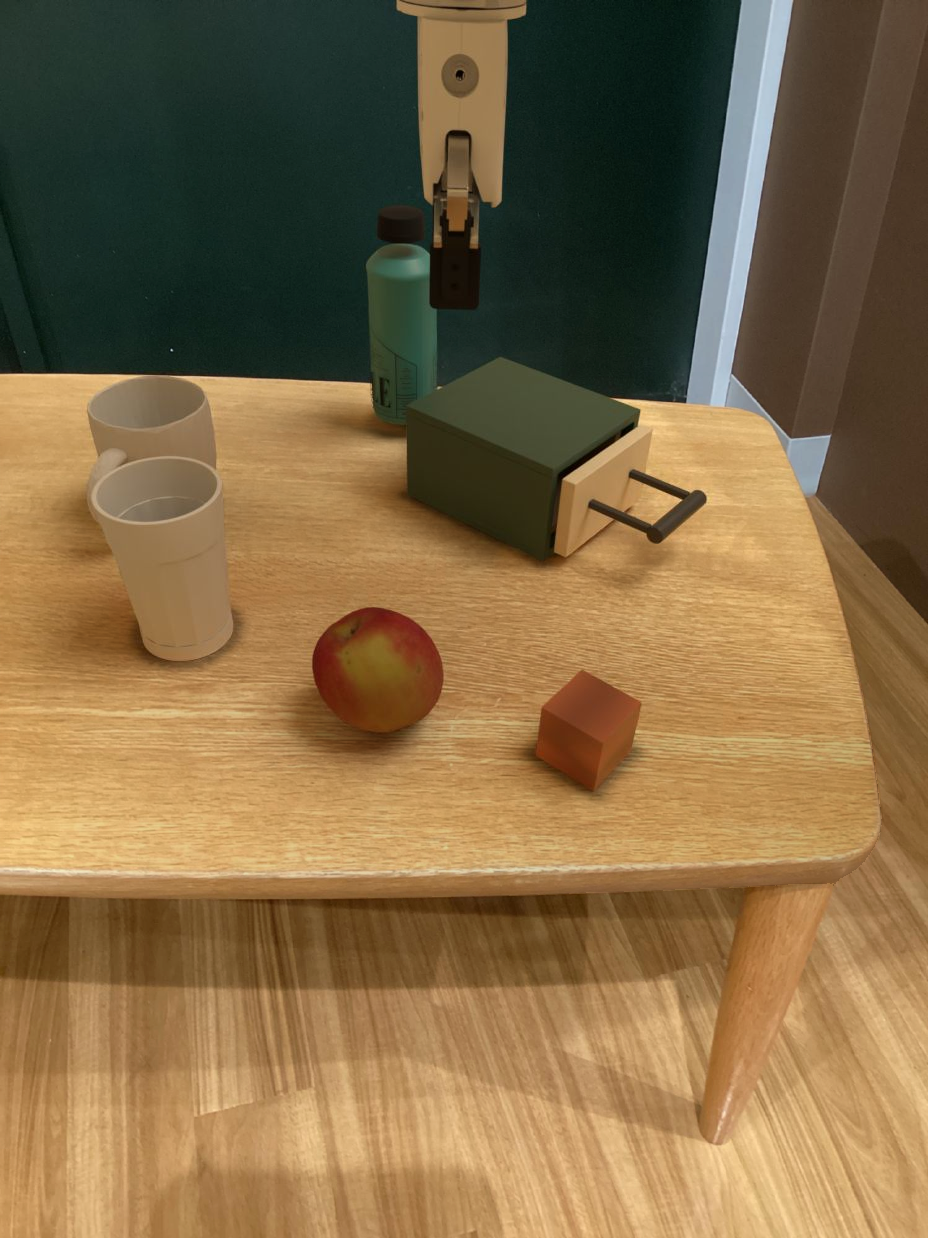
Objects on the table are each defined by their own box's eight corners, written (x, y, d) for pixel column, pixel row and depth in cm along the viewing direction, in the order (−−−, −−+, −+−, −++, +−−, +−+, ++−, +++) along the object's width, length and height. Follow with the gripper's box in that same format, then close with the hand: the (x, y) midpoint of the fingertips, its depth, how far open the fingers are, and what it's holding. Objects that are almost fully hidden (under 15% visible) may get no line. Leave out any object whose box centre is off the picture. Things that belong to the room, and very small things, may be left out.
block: (631, 750, 59) (642, 702, 56) (593, 792, 56) (603, 743, 53) (574, 717, 61) (582, 669, 58) (535, 756, 58) (541, 707, 55)
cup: (263, 607, 68) (243, 467, 60) (212, 679, 62) (183, 534, 55) (166, 587, 70) (134, 447, 62) (108, 655, 64) (64, 510, 56)
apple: (388, 657, 65) (385, 566, 59) (464, 722, 60) (468, 629, 55) (296, 707, 61) (285, 614, 56) (371, 780, 56) (366, 687, 51)
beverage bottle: (450, 419, 91) (455, 206, 78) (412, 447, 87) (411, 227, 74) (396, 401, 94) (392, 192, 81) (356, 427, 89) (346, 211, 76)
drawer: (710, 528, 76) (728, 457, 72) (638, 593, 70) (653, 518, 65) (515, 445, 86) (520, 377, 81) (435, 495, 79) (436, 423, 75)
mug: (156, 472, 82) (133, 366, 75) (244, 493, 80) (229, 386, 73) (61, 550, 73) (26, 438, 66) (159, 577, 71) (132, 463, 64)
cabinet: (625, 497, 81) (641, 409, 76) (542, 562, 74) (552, 468, 68) (495, 441, 88) (500, 356, 82) (406, 495, 80) (405, 405, 75)
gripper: (537, 5, 46) (514, 333, 57) (519, -34, 59) (503, 239, 70) (387, -1, 46) (393, 329, 57) (403, -39, 59) (405, 236, 70)
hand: (454, 279), depth 64 cm, fingers open, 9 cm apart
